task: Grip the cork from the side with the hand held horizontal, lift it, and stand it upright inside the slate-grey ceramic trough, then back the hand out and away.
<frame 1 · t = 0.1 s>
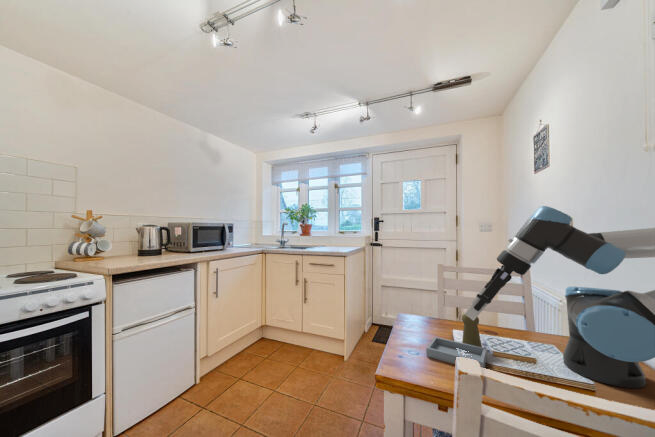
hand: (472, 311, 76), 15 cm above the table, tool tilted 35°, fingers open, 13 cm apart
trough: (456, 356, 78), on the table
cork: (472, 347, 84), on the table
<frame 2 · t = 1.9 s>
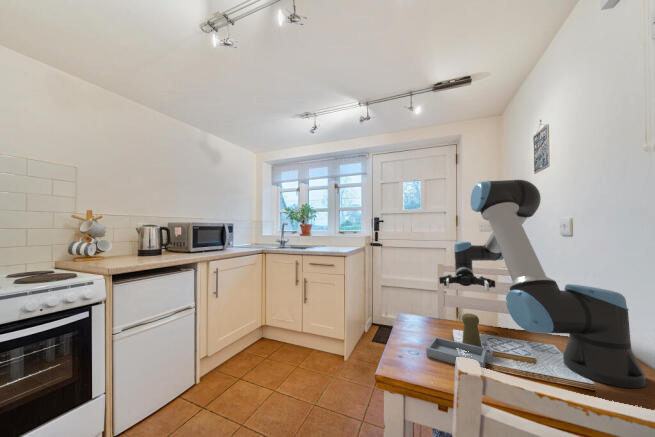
hand: (466, 285, 94), 19 cm above the table, tool horizontal, fingers open, 13 cm apart
nothing on the table moved.
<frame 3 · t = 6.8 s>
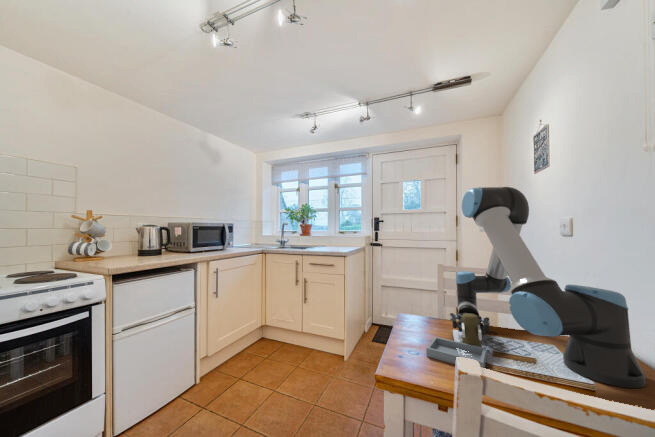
hand: (471, 334, 80), 6 cm above the table, tool horizontal, fingers closed on cork, 4 cm apart
cork: (472, 347, 84), on the table, touching gripper
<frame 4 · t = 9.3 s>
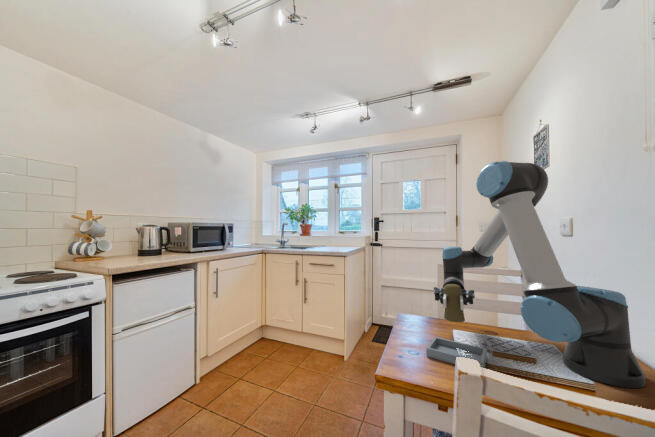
hand: (453, 304, 74), 18 cm above the table, tool horizontal, fingers closed on cork, 4 cm apart
cork: (454, 319, 79), point 12 cm above the table, touching gripper
when the fingers open (8 cm above the table, at t = 11.7 s): cork drops 1 cm, resting on trough.
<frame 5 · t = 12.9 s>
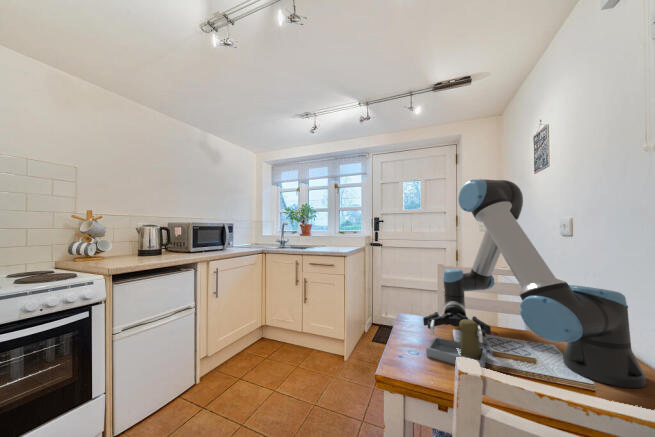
hand: (455, 334, 75), 8 cm above the table, tool horizontal, fingers open, 13 cm apart
cork: (471, 357, 76), resting on trough, touching gripper
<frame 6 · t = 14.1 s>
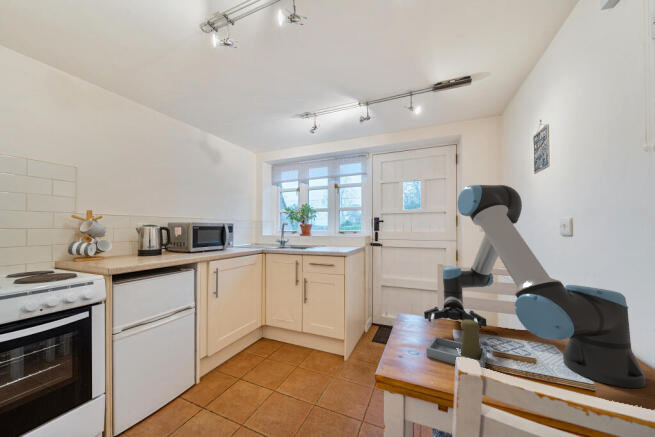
hand: (453, 326, 82), 8 cm above the table, tool horizontal, fingers open, 13 cm apart
cork: (471, 357, 76), resting on trough
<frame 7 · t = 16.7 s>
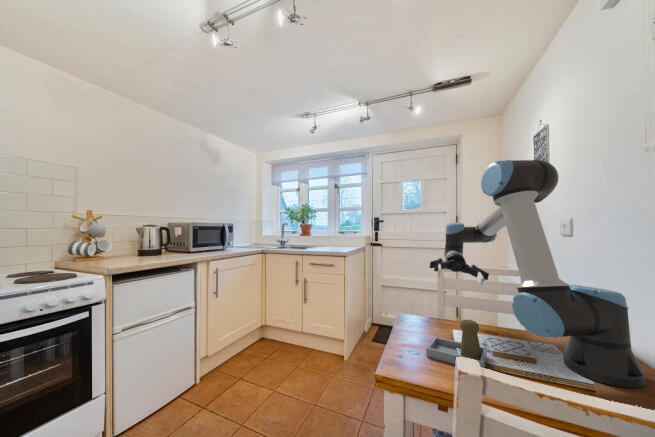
hand: (459, 276, 87), 24 cm above the table, tool horizontal, fingers open, 13 cm apart
nothing on the table moved.
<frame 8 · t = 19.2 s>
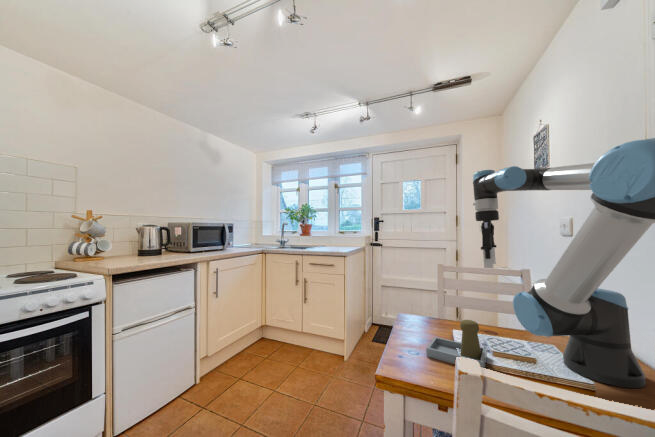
hand: (490, 265, 93), 27 cm above the table, tool pointing down, fingers open, 13 cm apart
nothing on the table moved.
at the end: cork inside the target area on the trough (4.2 cm from its centre), point 0.4 cm above the trough's base; cork tilted 0°; the gripper is holding nothing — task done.
